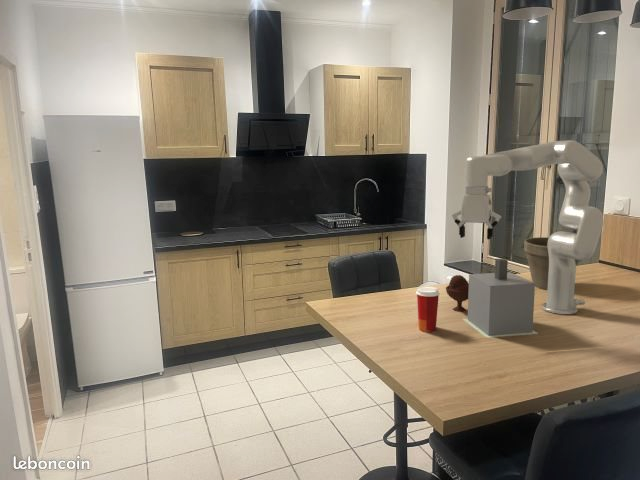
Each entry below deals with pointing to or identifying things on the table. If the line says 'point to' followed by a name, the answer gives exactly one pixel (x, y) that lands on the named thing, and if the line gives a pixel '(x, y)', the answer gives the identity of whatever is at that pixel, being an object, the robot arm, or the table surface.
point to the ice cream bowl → (458, 291)
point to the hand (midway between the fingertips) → (475, 237)
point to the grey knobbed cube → (501, 301)
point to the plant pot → (538, 260)
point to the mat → (496, 335)
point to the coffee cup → (427, 308)
